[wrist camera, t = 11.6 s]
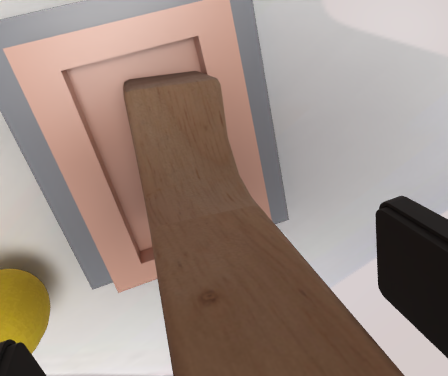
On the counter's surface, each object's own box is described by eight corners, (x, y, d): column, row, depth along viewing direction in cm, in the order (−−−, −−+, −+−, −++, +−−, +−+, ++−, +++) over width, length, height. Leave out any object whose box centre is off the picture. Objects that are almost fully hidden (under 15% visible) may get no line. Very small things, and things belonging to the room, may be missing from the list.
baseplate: (238, -33, 22) (269, -52, 17) (281, 211, 29) (309, 241, 25) (-31, 30, 19) (-76, 26, 15) (93, 277, 27) (88, 323, 23)
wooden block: (121, 79, 19) (133, 278, 3) (201, 69, 20) (533, 179, 4) (151, 221, 23) (227, 650, 7) (217, 207, 24) (422, 553, 8)
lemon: (-22, 241, 24) (-82, 326, 17) (65, 254, 26) (44, 335, 19) (-32, 306, 25) (-92, 410, 18) (50, 313, 27) (26, 409, 20)
